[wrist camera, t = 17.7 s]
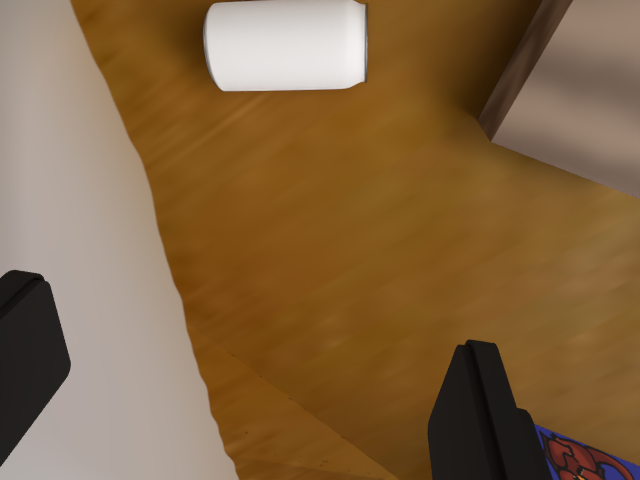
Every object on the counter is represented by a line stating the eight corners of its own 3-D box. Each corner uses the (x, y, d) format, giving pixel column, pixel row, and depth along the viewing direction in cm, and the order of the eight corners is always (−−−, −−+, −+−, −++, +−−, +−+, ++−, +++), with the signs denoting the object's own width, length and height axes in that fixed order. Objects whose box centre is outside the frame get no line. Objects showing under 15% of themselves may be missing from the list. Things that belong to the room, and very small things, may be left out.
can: (197, -7, 32) (368, -14, 31) (225, 11, 38) (368, 6, 37) (205, 90, 34) (367, 86, 32) (230, 92, 40) (367, 89, 39)
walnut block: (573, -60, 33) (610, -64, 28) (739, 12, 34) (803, 21, 29) (476, 118, 40) (490, 141, 35) (615, 172, 41) (648, 202, 36)
